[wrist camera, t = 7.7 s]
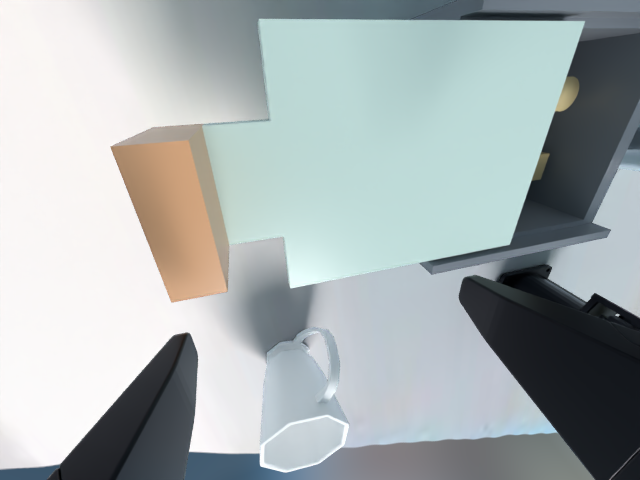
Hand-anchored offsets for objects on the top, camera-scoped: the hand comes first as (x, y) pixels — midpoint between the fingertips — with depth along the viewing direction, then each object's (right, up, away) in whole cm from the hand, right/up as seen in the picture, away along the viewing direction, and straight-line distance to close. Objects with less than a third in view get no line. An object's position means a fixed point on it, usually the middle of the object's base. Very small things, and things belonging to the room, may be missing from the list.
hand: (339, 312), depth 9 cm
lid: (+2, +6, +5) cm, 8 cm away
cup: (-3, -8, +18) cm, 20 cm away
